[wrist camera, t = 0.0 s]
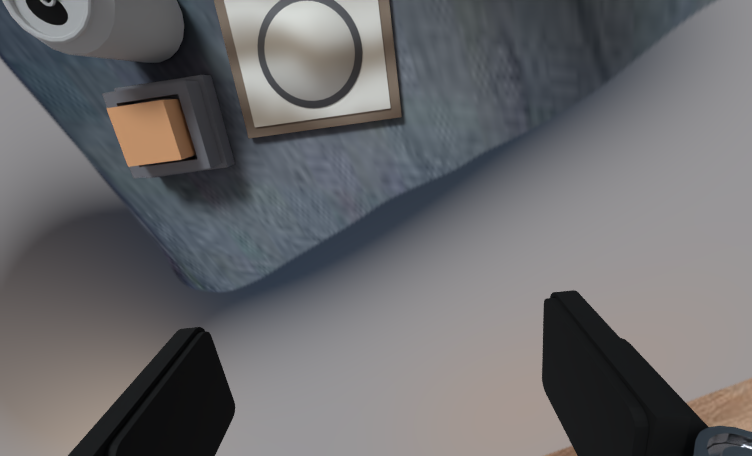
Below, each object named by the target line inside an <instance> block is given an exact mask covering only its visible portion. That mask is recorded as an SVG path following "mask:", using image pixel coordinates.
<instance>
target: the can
mask: <svg viewBox="0 0 752 456" xmlns="http://www.w3.org/2000/svg"><path fill="white" fill-rule="evenodd" d="M2 1H3V3H4V4H5V6H6V8H7V9H8V11H9V13H10V15H11V16H12V17H13V18H14V20H15V21H16V22H17V23H18V24H19V25H20V26H21V27H22V28H23V29H24V30H25V31H27V32H28V33H30V34H32V35H33V36H35V37H36V38H38V39H39V40H40V41H42V42H43V43H45V44H46V45H48V46H49V47H51V48H52V49H54V50H57V51H60V52H63V53H66V54H70V55H79V56H88V57H98V58H107V59H117V60H126V61H136V62H145V63H159V62H162V61H164V60H167V59H169V58H171V57H172V56H173V55H174V54H175V53H176V52H177V51H178V49H179V47H180V44H181V42H182V40H183V33H184V21H183V16H182V11H181V9H180V7H179V4H178V2H177V0H2Z"/></svg>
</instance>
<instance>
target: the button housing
mask: <svg viewBox="0 0 752 456" xmlns="http://www.w3.org/2000/svg"><path fill="white" fill-rule="evenodd" d="M114 90H115V92H108V93H102V95H103V97H104V100H105V103H106V106H107V108H112V107H118V106H125V105H131V104H138V103H145V102H151V101H158V100H168V99H180V103H181V106H182V109H183V112H184V116H185V119H186V122H187V126H188V129H189V132H190V135H191V139H192V142H193V145H194V149H195V152H196V155H193V156H191V157H188V158H185V159H182V160H175V161H167V162H160V163H153V164H145V165H138V166H131V167H130V170H131V173H132V175H133V178H142V177H146V178H153V177H160V176H168V175H175V174H183V173H190V172H198V171H205V170H213V169H220V168H228V167H230V166H232V165H234V164H235V162H234V158H233V154H232V150H231V147H230V143H229V139H228V136H227V132H226V128H225V125H224V121H223V117H222V114H221V110H220V106H219V102H218V99H217V95H216V91H215V88H214V84H213V80H212V77H211V75H197V76H190V77H184V78H178V79H171V80H165V81H158V82H152V83H146V84H139V85H133V86H126V87H120V88H114Z"/></svg>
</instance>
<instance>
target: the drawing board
mask: <svg viewBox="0 0 752 456" xmlns="http://www.w3.org/2000/svg"><path fill="white" fill-rule="evenodd" d="M214 3H215V7H216V11H217V15H218V19H219V23H220V26H221V30H222V34H223V38H224V42H225V46H226V50H227V54H228V58H229V62H230V66H231V70H232V74H233V78H234V82H235V86H236V90H237V94H238V98H239V102H240V106H241V110H242V114H243V118H244V122H245V126H246V130H247V134H248V138H256V137H263V136H270V135H277V134H284V133H291V132H299V131H306V130H313V129H320V128H327V127H334V126H342V125H349V124H356V123H363V122H370V121H377V120H384V119H392V118H399V117H402V115H401V106H400V97H399V87H398V78H397V69H396V60H395V51H394V41H393V32H392V23H391V14H390V5H389V0H214Z"/></svg>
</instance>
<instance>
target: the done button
mask: <svg viewBox="0 0 752 456" xmlns="http://www.w3.org/2000/svg"><path fill="white" fill-rule="evenodd" d="M107 111H108V114H109V116H110V119H111V122H112V124H113V127H114V130H115V132H116V135H117V138H118V141H119V143H120V146H121V149H122V151H123V154H124V157H125V159H126V162H127V165H128V167H131V166H138V165H145V164H153V163H160V162H167V161H175V160H182V159H185V158H188V157H191V156H193V155H196V152H195V149H194V145H193V142H192V139H191V135H190V132H189V129H188V126H187V122H186V119H185V116H184V112H183V109H182V106H181V103H180V99H168V100H158V101H151V102H145V103H138V104H131V105H125V106H118V107H112V108H107Z"/></svg>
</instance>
